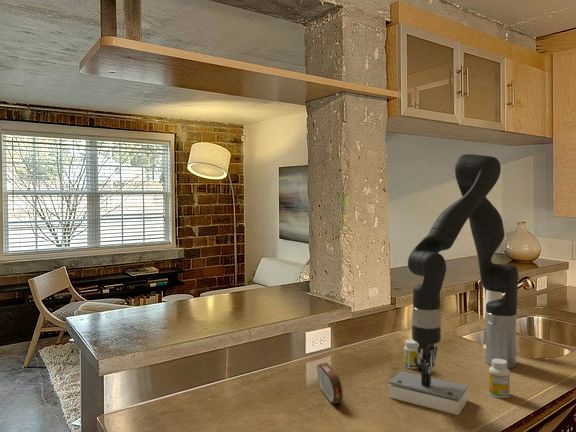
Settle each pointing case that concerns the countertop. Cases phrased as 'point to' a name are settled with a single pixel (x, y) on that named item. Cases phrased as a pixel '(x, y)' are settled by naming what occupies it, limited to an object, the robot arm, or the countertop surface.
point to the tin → (329, 383)
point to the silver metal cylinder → (491, 299)
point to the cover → (435, 388)
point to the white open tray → (428, 399)
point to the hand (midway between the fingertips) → (426, 385)
